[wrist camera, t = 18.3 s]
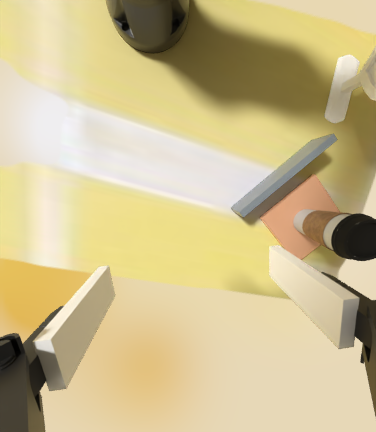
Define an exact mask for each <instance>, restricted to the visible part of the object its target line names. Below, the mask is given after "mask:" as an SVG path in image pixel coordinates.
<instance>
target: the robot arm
mask: <svg viewBox="0 0 376 432" xmlns="http://www.w3.org/2000/svg"><path fill="white" fill-rule="evenodd" d="M106 4H107V8H108V11H109V13H110V16H111V18H112V21H113V23H114V26H115V28H116V29H117V31H118V33H119V34H120V35H121V37H122V38H123V39H124V40H125V41H126V42H127V43H128V44H129V45H131V46H132V47H134V48H136V49H138V50H140V51H143V52H148V53H158V52H162V51H165V50H167V49H169V48H170V47H172V46H173V45H174V44H175V43H176V42H177V41H178V40H179V39H180V37H181V36H182V34H183V32H184V30H185V28H186V25H187V21H188V14H189V0H106ZM269 263H270V277H271V278H272V279H273V281H274V282H275V283H276V284H277V285H278V286H279V287H280V288H281V289H282V290H283V291H284V292H285V293H286V294H287V295H288V296H289V297H290V298H291V299H292V300H293V302H294V303H295V304H296V305H297V306H298V307H299V308H300V309H301V310H302V311H303V312H304V313H305V314H306V315H307V316H308V317H309V318H310V319H311V320H312V321H313V323H314V324H315V325H316V326H317V327H318V328H319V329H320V330H321V331H322V332H323V333H324V334H325V335H326V336H327V337H328V338H329V339H330V340H331V341H332V342H333V343H334V345H335V346H336V347H337V348H338V349H342V348H349V347H354V340H355V337H356V338H358V339H359V340H360V341H361V342H362V343H363V347H362V354H361V363H364V362H365V367H366V371H367V376H368V381H369V386H370V391H371V396H372V401H373V406H374V411H375V416H376V300H370V299H369V298H367V297H365V296H364V295H362V294H361V293H359V292H358V291H356V290H354V289H353V288H351V287H350V286H347V285H346V284H345V283H343V282H341V281H340V280H338V279H337V278H335V277H333V276H331V275H329V274H326V273H324V272H321V273H320V272H319V271H317V270H316V269H314V268H313V267H311V266H310V265H308V264H307V263H305V262H303V261H302V260H300V259H299V258H297V257H296V256H294V255H293V254H291V253H290V252H288V251H287V250H285V249H283V248H282V247H280V246H279V245H276V246H269ZM114 297H115V292H114V288H113V283H112V278H111V273H110V269H109V266H101V267H98V269H97V270H96V271H95V272H94V273H93V274H92V275H91V276H90V278H89V279H88V280H87V281H86V282H85V283H84V284H83V286H82V287H81V288H80V289H79V290H78V291H77V292H76V294H75V295H74V296H73V297H72V298H71V299H70V300H69V301H68V302H67V304H66V305H65V306H61V307H59V308H58V309H56V310H55V311H54V312H52V313H51V314H50V315H49V316H48V317H47V319H46V320H45V322H43V323H42V324H41V325H40V326H39V328H37V329H36V330H35V331H34V332H33V334H31V336H30V337H29V338H28V339H27V340H26V341H25V342H24V343H23V344H22V341H21V338H20V336H19V334H15V333H13V334H8V335H5V336H3V337H0V432H45V424H44V415H43V407H42V397H41V395H40V390H41V388H42V387H43V385H44V383H45V382H46V383H47V386H48V388H49V391H54V390H61V389H66V388H67V387H68V385H69V383H70V381H71V379H72V377H73V375H74V373H75V371H76V369H77V367H78V366H79V364H80V362H81V360H82V358H83V356H84V354H85V352H86V350H87V349H88V347H89V345H90V343H91V341H92V339H93V337H94V335H95V333H96V332H97V330H98V328H99V326H100V324H101V322H102V320H103V318H104V316H105V315H106V312H107V311H108V309H109V307H110V305H111V303H112V301H113V299H114Z"/></svg>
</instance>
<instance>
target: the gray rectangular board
mask: <svg viewBox="0 0 376 432" xmlns="http://www.w3.org/2000/svg"><path fill="white" fill-rule="evenodd" d="M335 141H337V138H336V136H335V135H334V134H331V135H327V136H324V137H320V138H317V139H314V140H311V141H310V142H309V143H307V144H306V145H305V146H304V147H303V148H301V149H300V150H299V151H298V152H297V153H295V154H294V155H293V156H292V157H291V158H289V159H288V160H287V161H286V162H285V163H283V164H282V165H281V166H280V167H279V168H278V169H276V170H275V171H274V172H273V173H272V174H270V175H269V176H268V177H267V178H266V179H264V180H263V181H262V182H261V183H260V184H258V185H257V186H256V187H255V188H254V189H253V190H251V191H250V192H249V193H248V194H247V195H245V196H244V197H243V198H242V199H241V200H239V201H238V202H237V203H236V204H235V205H233V206H232V207H231V209H232V210H233V211H234V212H235V213H236V214H238V215H240V216H242V217H245V216H246V215H247V214H248V213H249V212H251V211H252V210H253V209H254V208H256V207H257V206H258V205H259V204H260V203H262V202H263V201H264V200H265V199H266V198H268V197H269V196H270V195H271V194H272V193H274V192H275V191H276V190H277V189H279V188H280V187H281V186H282V185H283V184H285V183H286V182H287V181H288V180H289V179H291V178H292V177H293V176H294V175H295V174H297V173H298V172H299V171H300V170H301V169H303V168H304V167H305V166H306V165H308V164H309V163H310V162H311V161H312V160H314V159H315V158H316V157H317V156H318V155H320V154H321V153H322V152H323V151H324V150H326V149H327V148H328V147H329V146H331V145H332V144H333V143H334V142H335Z"/></svg>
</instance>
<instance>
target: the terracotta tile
mask: <svg viewBox="0 0 376 432" xmlns="http://www.w3.org/2000/svg"><path fill="white" fill-rule="evenodd" d="M304 209H311V210H320V211H331V212H340V211H339V210H338V208H337V207H336V205H335V204H334V202H333V201H332V199H331V198H330V196H329V195H328V193H327V192H326V190H325V189H324V187H323V186H322V184H321V182H320V181H319V179H318V178H317V176H316V175H311V176H310V177H309V178H307V179H306V180H305V181H304V182H302V183H301V184H300V185H299V186H298V187H296V188H295V189H294V190H293V191H291V192H290V193H289V194H288V195H287V196H285V197H284V198H283V199H282V200H280V201H279V202H278V203H277V204H276V205H274V206H273V207H272V208H271V209H269V210H268V211H267V212H266V213H265V214H263V215H262V216H261V217H260V219H261V220H262V221H263V223H264V224H265V225H266V227H267V228H268V229H269V230H270V232H271V233H272V234H273V236H274V237H275V238H276V239H277V241H278V242H279V243H280V244H281V246H282V247H283V248H284V249H285V250H287V251H288V252H290V253H291V254H293V255H294V256H296V257H297V258H299V259H300V260H302V259H303V258H304V257H305V256H307V255H308V254H309V253H311V252H312V251H313V250H314V249H316V248H317V247H318V246H320V245H321V244H320V243H318V242H316V241H314V240H313V239H311V238H309V237H308V236H306V235H304V234H303V233H301V232H299V231H297V230H296V229H295V227H294V224H293V221H294V217H295V215H296V214H297V213H298V212H299V211H301V210H304Z"/></svg>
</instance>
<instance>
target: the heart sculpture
mask: <svg viewBox="0 0 376 432" xmlns="http://www.w3.org/2000/svg"><path fill="white" fill-rule="evenodd" d="M359 63H360V62H359V61H358V60H357V59H356V58H355V57H354V56H352V55H345V56H342V57H340V58H338V61H337V66H336V70H335V74H334V78H333V82H332V86H331V90H330V94H329V99H328V103H327V107H326V111H325V115H324V117H325V118H326V119H327V120H328V121H330V122H332V123H338V122H341V121H343V120H345V116H346V112H347V108H348V104H349V101H350V97H351V93H352V90H354V89H356V88H358V87H360V86H362V87H363V89H364V91H365V93H366V94H367V95H368V96H369V98H370V99H371V100H375V101H376V46H375V48H374V50H373V51H372V53H371V55H370V56H369V58H368V59H367V61H366V63H365V64H364V66H363V68H362V69H361V71H360V72H359V74H357V70H358V67H359ZM356 74H357V75H356Z"/></svg>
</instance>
